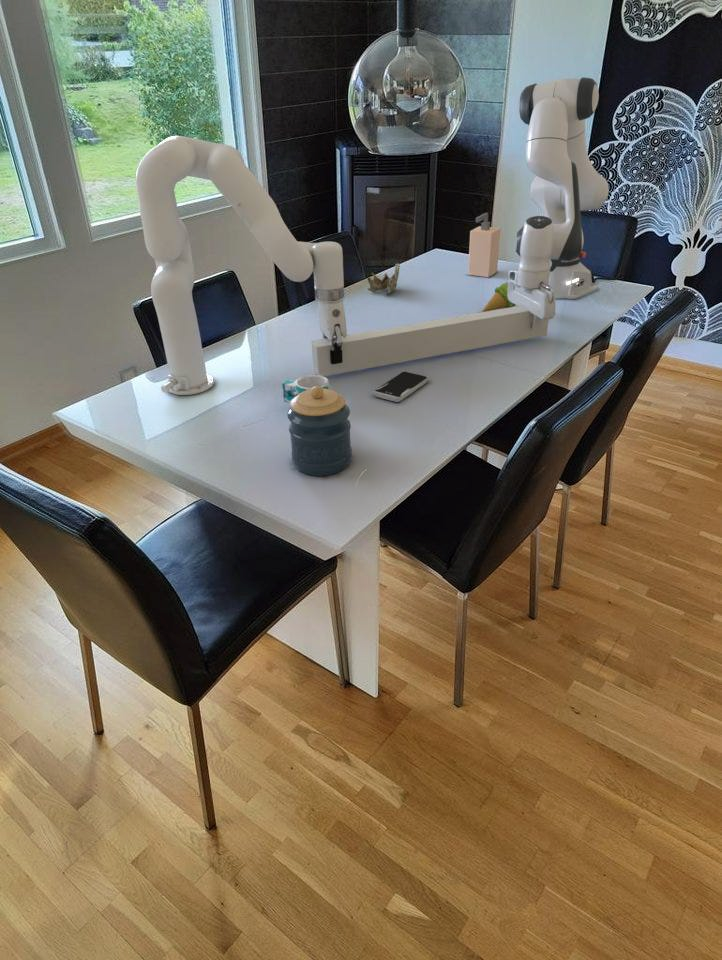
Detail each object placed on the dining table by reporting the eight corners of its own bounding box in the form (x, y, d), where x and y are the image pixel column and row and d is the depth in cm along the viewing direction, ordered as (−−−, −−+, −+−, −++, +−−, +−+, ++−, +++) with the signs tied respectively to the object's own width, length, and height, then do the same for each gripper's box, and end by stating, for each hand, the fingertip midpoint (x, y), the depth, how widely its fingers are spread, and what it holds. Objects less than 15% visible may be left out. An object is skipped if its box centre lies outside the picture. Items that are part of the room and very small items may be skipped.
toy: (490, 328, 222) (529, 303, 221) (483, 307, 216) (523, 282, 215) (478, 316, 228) (516, 293, 227) (471, 297, 222) (510, 272, 221)
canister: (282, 471, 142) (273, 395, 133) (307, 442, 152) (301, 370, 143) (338, 481, 138) (333, 404, 129) (360, 451, 148) (358, 377, 139)
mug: (318, 422, 160) (315, 391, 156) (277, 412, 166) (274, 381, 161) (336, 409, 166) (334, 377, 162) (297, 399, 171) (294, 368, 167)
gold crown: (411, 271, 247) (402, 252, 239) (394, 304, 243) (385, 285, 235) (390, 269, 252) (380, 250, 243) (373, 301, 248) (363, 283, 239)
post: (319, 377, 180) (316, 347, 175) (313, 370, 184) (311, 340, 180) (546, 335, 200) (550, 307, 195) (537, 330, 204) (540, 302, 199)
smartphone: (428, 377, 177) (398, 398, 167) (428, 381, 178) (398, 403, 168) (403, 371, 181) (372, 391, 171) (403, 375, 182) (373, 396, 171)
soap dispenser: (476, 269, 264) (480, 210, 252) (497, 271, 260) (501, 211, 248) (463, 277, 255) (466, 216, 243) (484, 280, 251) (488, 218, 239)
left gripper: (354, 300, 166) (356, 368, 176) (333, 282, 180) (336, 346, 190) (325, 304, 164) (329, 373, 174) (306, 285, 178) (310, 350, 187)
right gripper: (563, 286, 184) (557, 334, 191) (523, 267, 200) (519, 312, 207) (544, 289, 182) (538, 338, 189) (505, 270, 198) (501, 315, 206)
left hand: (333, 358), depth 182 cm, fingers closed on post, 5 cm apart
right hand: (528, 324), depth 199 cm, fingers closed on post, 5 cm apart
